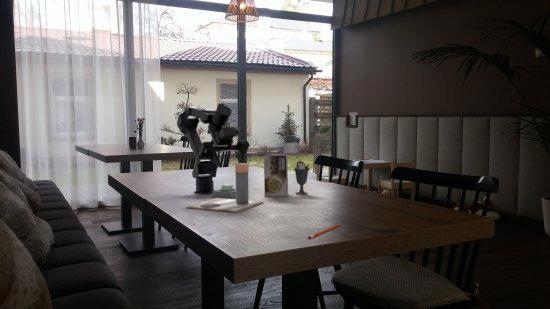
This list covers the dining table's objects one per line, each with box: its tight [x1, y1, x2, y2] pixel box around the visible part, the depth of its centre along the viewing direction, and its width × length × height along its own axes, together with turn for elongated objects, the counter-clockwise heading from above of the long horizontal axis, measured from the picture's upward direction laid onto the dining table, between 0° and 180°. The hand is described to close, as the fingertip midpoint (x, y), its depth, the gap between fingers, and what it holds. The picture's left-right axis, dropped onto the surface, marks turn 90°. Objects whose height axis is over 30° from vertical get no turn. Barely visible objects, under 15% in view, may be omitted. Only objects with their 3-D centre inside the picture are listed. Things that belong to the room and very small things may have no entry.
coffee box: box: [263, 153, 289, 197], centre depth 178 cm, size 9×6×16 cm
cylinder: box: [234, 162, 250, 205], centre depth 157 cm, size 5×5×14 cm
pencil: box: [307, 223, 342, 240], centre depth 121 cm, size 1×19×1 cm, turn 146°
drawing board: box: [185, 198, 264, 214], centre depth 157 cm, size 20×19×1 cm
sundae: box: [293, 156, 311, 196], centre depth 181 cm, size 7×7×15 cm
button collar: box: [212, 188, 236, 199], centre depth 175 cm, size 8×8×2 cm
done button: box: [221, 183, 234, 192], centre depth 175 cm, size 4×4×2 cm
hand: (232, 165), depth 163 cm, fingers open, 9 cm apart
